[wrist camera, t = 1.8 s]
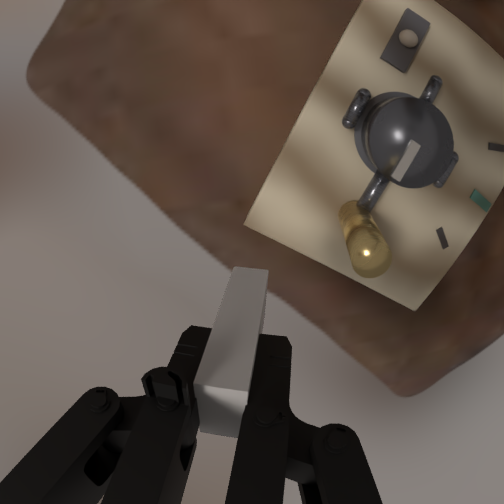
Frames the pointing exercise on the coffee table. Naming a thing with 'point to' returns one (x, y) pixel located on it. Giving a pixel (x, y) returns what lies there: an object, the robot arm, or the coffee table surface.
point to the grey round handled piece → (394, 164)
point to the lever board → (361, 169)
